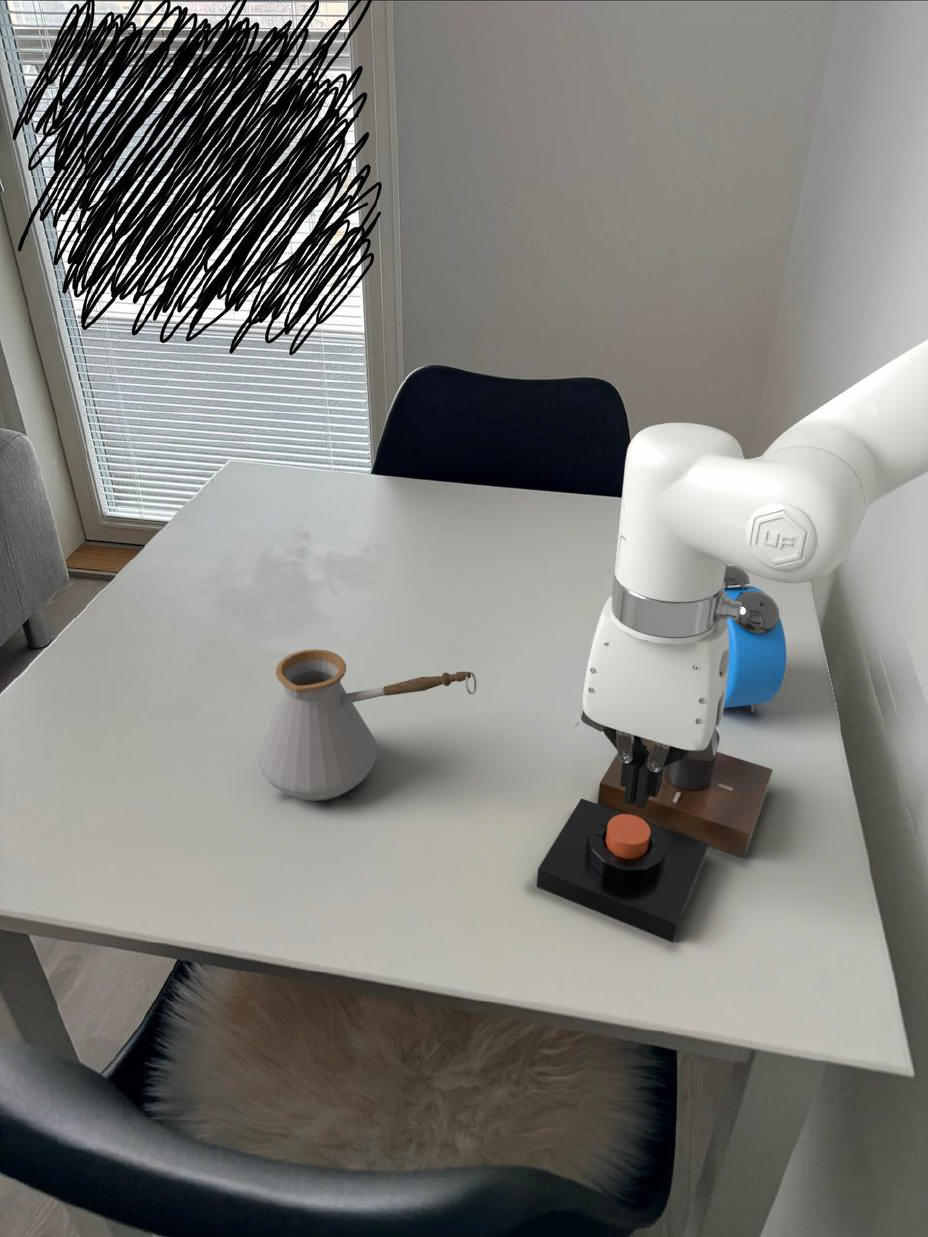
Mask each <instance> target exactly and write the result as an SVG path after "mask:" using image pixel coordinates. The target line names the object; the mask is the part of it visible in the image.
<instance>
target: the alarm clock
mask: <svg viewBox="0 0 928 1237" xmlns="http://www.w3.org/2000/svg"><path fill="white" fill-rule="evenodd" d="M723 583H725V589H724V592H727V597H730V598H732V600H734V601H739V602H742V606H741V611H740V615H739V618H738V620H733V619H728V618H727V619H726V620H727V622H728V629H729V665H728V678H727V686H726V695H725V703H724V709H726V708H727V709H729V708H736V707H745V706H746V707H747V706H749V711H750V712H751V713H754V711H755V705H762V704H766V703H768V702H770V701H771V700H772V699H773V698H774V697H775V696H776V695H777V694H778V692H779V691H780V689H781V686H782V683H783V681H784V677H785V673H786V666H787V642H786V635H785V630H784V626H783V623H782V620H781V617H780V610H779V606H778V605H777V603H776V601H775V600H774V598H772V597H771V596H770V595H768V594H767V593H765V591H763V590H761V588H758V587H756V586H751V585H750V584H751V583H750V576H749V575H748V572H747V571H745V570H742V569H740V568H738V567H735V566H733V565H728V563H727V564H726V569H725V575H724V581H723ZM731 586H732V587H731Z"/></svg>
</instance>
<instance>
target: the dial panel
mask: <svg viewBox="0 0 928 1237" xmlns="http://www.w3.org/2000/svg"><path fill="white" fill-rule="evenodd" d="M642 743H643V745H646V746H647V750H648V753H649V751H650V750H651V748H652V747H653V744H654V741H652V740H649V739H645V738H643V742H642ZM622 763H623V762H621V761H620V760H619V758H618V752H617V753H616V755H615V756H614V758H613V759H612V761H611V763H610V765H609V767H608V769H607V770H606V771H605V773H604V775H603V777H602V778H601V780H600V782H599V786H598V788H599V789H598V796H597V802H596V804H599V805H602V806H605V807H607V808H610V809H613V810H616V811H619V812H621V813H624V814H631V815H634V816H637V817H640V818H643V819H645V820H648V821H650V822H651V823H652V824H655V825H658V826H661V827H663V828H666V829H669V830H672V831H675V832H677V833H680V834H683V835H686V836H689V837H691V838H694V839H697V840H700V841H703V842H705V843H708V844H709V845H708V847H711V848H713V849H716V850H719V851H722V852H724V853H728V854H729V855H733V856H736V857H739V858H741V859H745V857H746V854H747V852H748V849H749V846H750V844H751V843H750V842H751V839H752V837H753V834H754V831H755V828H756V826H757V822H758V819H759V816H760V814H761V811H762V808H763V805H764V802H765V801H766V800H765V799H766V796H767V794H768V790H769V786H770V782H771V778H772V774H773V768H770V767H766V766H764V765H760V764H757V763H754V762H751V761H747V760H744V759H741V758H738V757H735V756H731V755H729V754H725V753H723V752H720V751H717V754H716V759H715V764H714V769H713V774H712V778H711V782H710V784H709V785H708V786H707V787H705V788H703V789H701V790H685V789H681V788H679V787H676V786H675V785H673V784H671V783H670V782H669V781H668V780H667V778H666V777H665V774H664V770H663V777H662V783H661V788H660V791H659V793H658V795H657V797H653V796H650V797H649V799H648V801H647V803H646V805H645V807H644V809H640V808H638V807H637V805H635V802H634V804H631V805H629V804H626V803H624V797H625V789H626V788H625V787H622V786H620V780H621V772H622ZM664 768H665V767H664Z"/></svg>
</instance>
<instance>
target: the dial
mask: <svg viewBox="0 0 928 1237" xmlns="http://www.w3.org/2000/svg"><path fill="white" fill-rule="evenodd" d="M716 736H717V745H718V746H719V745H720V738H721V737H720V733H719V731H718V730H717V729H716ZM717 752H718V751H717ZM717 752H716V754H717ZM716 754H715V756H714V758H713V760H711V761H704V760H694V759H689V758H686V757H684V758H683V759H681V760H679V761H677V762H674V763H672V764H670V765H667V766H665V768H664V774H665V777H666V778H667V780H668V781H669V782H670V783H671V784H673V785H675V786H676V787H679V788H681V789H685V790H701V789H703V788H705V787H707V786H708V785H709V784H710V782H711V778H712V774H713V769H714V764H715V759H716Z"/></svg>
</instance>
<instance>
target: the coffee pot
mask: <svg viewBox="0 0 928 1237" xmlns="http://www.w3.org/2000/svg"><path fill="white" fill-rule="evenodd" d="M346 672H347V664H346V662H345V660H344V658H343V657H341V656H340V655H339V654H337V653H335V652H333V651H330V650H326V649H318V648H317V649H316V648H315V649H305V650H300V651H296V652H293V653H291V654H289V655H287V656H285V657H284V658H283V659H282V660H280V661H279V662H278V664H277V666H276V667H275V675H276V678H277V680H278V682H279V683H280V684H282V686H283V687H284V689H283V691H282V693H281V696H280V698H279V701H278V702H277V706H276V708H275V710H274V713H273V715H272V718H271V721H270V723H269V725H268V728H267V730H266V734H265V737H264V738H263V741H262V743H261V745H260V748H259V752H258V753H259V754H258V764H259V768H260V770H261V773H262V775H263V776H264V777H265V779H266V780H267V781H268V782H269V783H270V784H271V786H273V787H274V788H275V789H277V790H279V791H280V792H282V793H284V794H286V795H288V796H290V797H294V798H297V799H300V800H303V801H312V802H320V801H327V800H328V801H329V800H332V799H336V798H337V797H338V798H339V797H340V796H342V795H344V794H346V793H347V792H349V791H351V790H352V789H353V788H355V787H356V786H358V785H359V784H360V783H361V782H363V781H364V780H365V779H366V777H367V776H368V775H369V773H371V771H372V768H373V767H374V765H375V761H376V758H377V756H378V747H377V742H376V739H375V737H374V735H373V733H372V732H371V730H370V728H369V727H368V725H367V723H366V722H365V720H364V718H363V717H362V715H361V714H360V712H359V711H358V709H357V707H356V706H355V705H354V703H356V702H362V701H365V700H371V699H375V698H379V697H383V696H386V697H387V696H395V695H402V694H411V693H418V692H426V691H427V690H430V689H433V688H436V687H439V686H442V685H443V686H444V687H450V685H451V684H452V683H454V682H458V683H461V682H464V681H465V688H466V691H467V693H468V695H474V694H475V693H476V692H477V688H478V686H477V679H476V676H475V674H474V672H470V671H457V672H455V673H451V674H450V673H449V672H443V673H442V674H441V676H440V675H438V676H437V675H436V676H419V677H416V678H412V679H408V680H404V681H400V682H396V683H393V684H388V685H384V686H383V687H378V688H377V687H376V688H371V689H366V690H359V691H352V692H348V693H347V691H346V689H345V688H344V686H343V685H342V683H341V682H342V679H343V678H344V676H345V675H346ZM471 677H472V679H473V685H474V686H473V691H472V692H471V690H470V688H469V684H468V681H469V680H468V679H471Z"/></svg>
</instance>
